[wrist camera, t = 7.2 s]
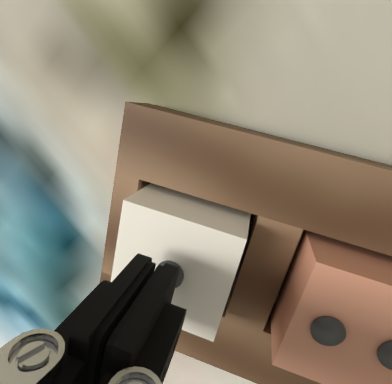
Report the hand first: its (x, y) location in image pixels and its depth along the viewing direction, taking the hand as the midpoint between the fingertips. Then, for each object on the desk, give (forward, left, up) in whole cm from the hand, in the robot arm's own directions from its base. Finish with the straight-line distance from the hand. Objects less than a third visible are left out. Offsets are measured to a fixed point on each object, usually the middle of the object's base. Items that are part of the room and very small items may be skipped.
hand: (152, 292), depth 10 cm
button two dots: (0, +8, -4) cm, 9 cm away
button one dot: (0, 0, -4) cm, 4 cm away
